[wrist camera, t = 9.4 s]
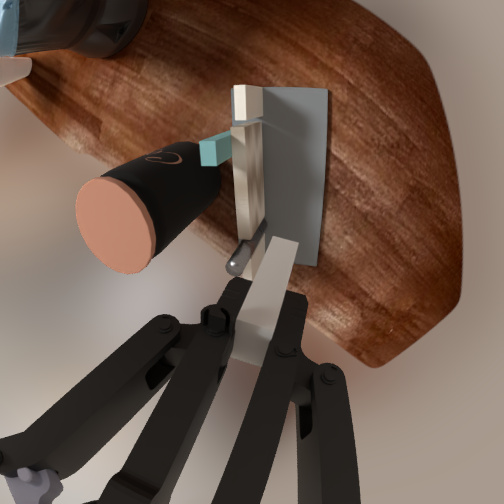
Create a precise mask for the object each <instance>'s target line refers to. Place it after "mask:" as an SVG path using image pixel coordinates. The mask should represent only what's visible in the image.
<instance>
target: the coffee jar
mask: <svg viewBox="0 0 504 504" xmlns="http://www.w3.org/2000/svg"><path fill="white" fill-rule="evenodd" d="M220 185H221V177H220V170H219V167H218V166H201V156H200V145H198V144H195V143H192V142H189V141H188V142H177V143H174V144H172V145H169V146H166V147H164V148H161V149H159V150H156V151H153V152H151V153H149V154H146V155H144V156H141V157H139V158H137V159H134V160H132V161H130V162H127V163H125V164H123V165H121V166H118V167H116V168H114V169H112V170H110V171H108V172H106V173H105V174H103V175H101V176H100V177H97V178H94V179H92V180H90V181H89V182H87V183H86V184H84V185H83V187H82V188H81V190H80V192H79V193H78V196H77V201H76V217H77V222H78V226H79V229H80V232H81V234H82V236H83V238H84V240H85V242H86V244H87V246H88V247H89V248H90V250H91V251H92V252H93V254H94V255H95V256H96V257H97V258H98V259H99V260H100V261H101V262H103V263H104V264H105V265H106V266H108V267H110V268H111V269H113V270H115V271H117V272H121V273H125V274H133V273H138V272H140V271H141V270H143V269H144V268H145V267H147V265H148V264H149V263H150V261H151V259H153V258H154V257H155V256H157V255H158V254H159V253H161V252H162V250H164V249H165V248H166V247H167V246H168V245H169V244H170V242H172V241H173V240H174V239H175V238H176V237H177V236H178V235H179V234H180V233H181V232H182V231H183V230H184V229H185V228H186V227H187V226H188V225H189V224H190V223H191V222H192V221H193V220H195V219H196V218H197V217H198V216H199V215H200V214H201V213H202V212H203V211H204V210H205V209H206V208H207V207H208V206H209V205H211V204H212V203H213V201H214V200H215V198H216V197H217V195H218V193H219V189H220Z"/></svg>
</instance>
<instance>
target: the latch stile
mask: <svg viewBox="0 0 504 504" xmlns="http://www.w3.org/2000/svg"><path fill="white" fill-rule="evenodd" d="M199 143H200V156H201V166H218V165H219V164H221V163H223V162H224V161H226V160H227V159H229V158H231V157H232V146H231V131H230V130H229V131H227V132H224V133H221V134H218V135H215V136H212V137H210V138H207V139H204V140H202V141H199Z"/></svg>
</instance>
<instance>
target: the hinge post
mask: <svg viewBox="0 0 504 504" xmlns="http://www.w3.org/2000/svg"><path fill="white" fill-rule="evenodd" d="M266 228H267V221H266V220H265V219H264V218H263V220H262V221H261V223H260V225H259V226H258V228H257V230H256V231H255V233H254V235H253V237H252V238H251V240H246V239H242V240H241V242H240V244H239V245H238V247H237V248H236V250H235V251H234V253H233V254H232V256H231V258H230V259H229V261H228V262H227V264H226V270H227V272H228V273H229V274H230V275H233V276H240V275H241V274H242V273H243V271H244V269H245V267H246V265H247V263H248V262H249V260H250V258H251V256H252V254H253V252H254V250H255V248H256V247H257V245H258V243H259V241H260V239H261V237H262V235H263V233H264V232H265V230H266Z"/></svg>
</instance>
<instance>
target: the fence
mask: <svg viewBox="0 0 504 504" xmlns="http://www.w3.org/2000/svg"><path fill="white" fill-rule="evenodd" d="M234 105H235V120H249V119H253V118H257V117H261V116H263V89H262V87H258V86H250V85H234ZM264 255H265V233H263V235H262V237H261V239H260V241H259V243H258V245H257V247H256V248H255V250H254V252H253V254H252V256H251V258H250V260H249V262H248V263H247V265H246V267H245V269H244V271H243V278H244V279H247V280H251V281H253V280H254V278H255V276H256V274H257V271H258V269H259V267H260V264H261V262H262V260H263V258H264Z"/></svg>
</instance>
